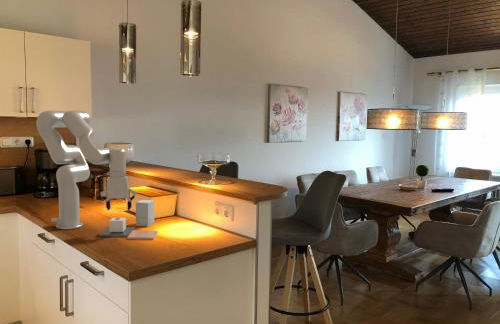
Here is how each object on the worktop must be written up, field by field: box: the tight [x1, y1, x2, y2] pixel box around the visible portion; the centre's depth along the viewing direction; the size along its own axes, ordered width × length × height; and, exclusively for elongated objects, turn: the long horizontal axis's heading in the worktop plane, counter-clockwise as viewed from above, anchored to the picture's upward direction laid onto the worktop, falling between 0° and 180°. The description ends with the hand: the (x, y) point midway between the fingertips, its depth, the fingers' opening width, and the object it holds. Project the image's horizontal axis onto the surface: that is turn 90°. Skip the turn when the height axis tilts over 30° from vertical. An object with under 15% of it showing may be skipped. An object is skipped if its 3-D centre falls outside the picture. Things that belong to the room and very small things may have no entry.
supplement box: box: [135, 199, 155, 227], centre depth 220 cm, size 7×7×13 cm
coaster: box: [126, 230, 158, 241], centre depth 199 cm, size 12×12×1 cm
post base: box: [98, 226, 136, 238], centre depth 203 cm, size 14×14×5 cm
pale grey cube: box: [108, 217, 127, 232], centre depth 203 cm, size 6×6×6 cm
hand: (119, 209), depth 202 cm, fingers open, 9 cm apart
